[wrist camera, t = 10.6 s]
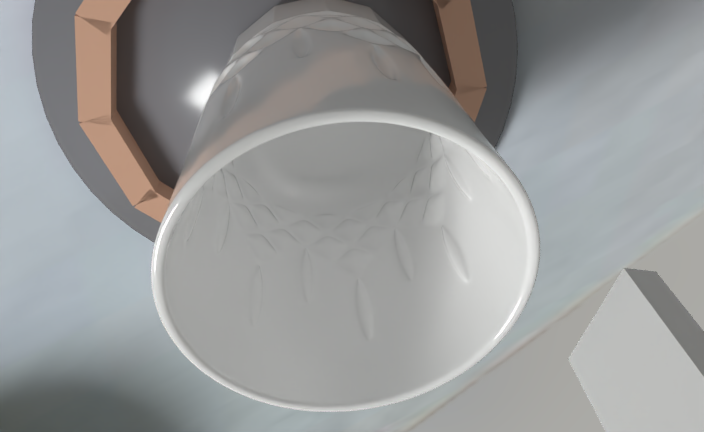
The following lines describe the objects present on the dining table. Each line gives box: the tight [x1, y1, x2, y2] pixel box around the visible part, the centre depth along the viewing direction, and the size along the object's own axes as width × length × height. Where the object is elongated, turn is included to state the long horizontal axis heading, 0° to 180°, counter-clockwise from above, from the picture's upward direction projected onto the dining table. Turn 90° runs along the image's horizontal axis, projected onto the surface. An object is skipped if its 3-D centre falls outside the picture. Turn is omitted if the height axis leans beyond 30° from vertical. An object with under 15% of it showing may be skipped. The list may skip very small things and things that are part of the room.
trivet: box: [32, 0, 518, 243], centre depth 20 cm, size 16×16×1 cm
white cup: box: [151, 0, 540, 412], centre depth 16 cm, size 8×8×10 cm
